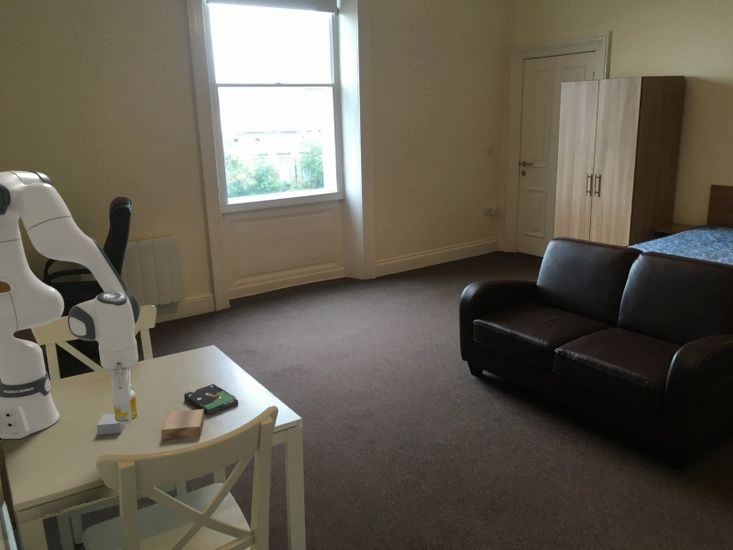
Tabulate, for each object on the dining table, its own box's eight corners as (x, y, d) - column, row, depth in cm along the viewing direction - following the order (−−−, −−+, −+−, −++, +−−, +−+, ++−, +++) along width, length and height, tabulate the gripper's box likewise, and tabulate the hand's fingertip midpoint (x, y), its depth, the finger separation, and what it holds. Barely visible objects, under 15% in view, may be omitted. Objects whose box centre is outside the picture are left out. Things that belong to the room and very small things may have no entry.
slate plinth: (98, 434, 166) (96, 425, 165) (104, 424, 172) (102, 414, 171) (121, 432, 167) (119, 423, 166) (126, 422, 173) (125, 412, 172)
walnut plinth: (162, 439, 163) (161, 429, 162) (168, 421, 172) (167, 412, 172) (200, 436, 164) (199, 426, 163) (204, 418, 174) (203, 409, 173)
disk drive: (184, 402, 185) (208, 418, 175) (183, 394, 185) (207, 409, 174) (213, 391, 192) (239, 406, 182) (213, 383, 192) (238, 397, 181)
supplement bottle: (120, 426, 154) (115, 392, 151) (112, 418, 158) (108, 385, 155) (141, 419, 157) (137, 386, 154) (133, 411, 161) (129, 378, 158)
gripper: (132, 371, 144) (138, 422, 148) (132, 339, 162) (137, 386, 166) (103, 375, 142) (110, 427, 146) (107, 342, 160) (113, 389, 164)
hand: (125, 405), depth 156 cm, fingers closed on supplement bottle, 5 cm apart
